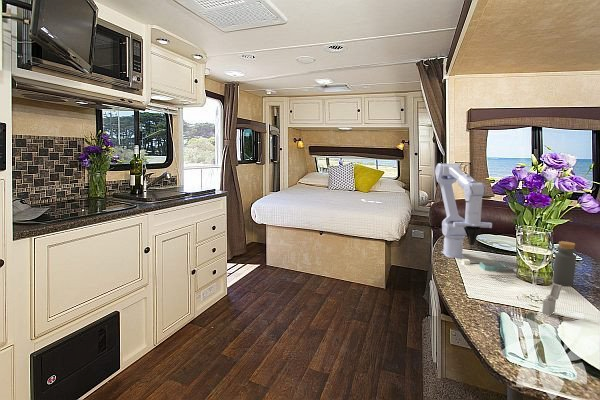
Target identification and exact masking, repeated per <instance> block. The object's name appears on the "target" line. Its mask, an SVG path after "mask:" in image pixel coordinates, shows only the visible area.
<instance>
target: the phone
mask: <svg viewBox="0 0 600 400" xmlns="http://www.w3.org/2000/svg"><path fill="white" fill-rule="evenodd" d="M495 262H496V261H488V262H487V261H486V262H485V261H480V262H479V263H480V265H479V266H480V267H481V268H482V269H483V270H487V271H497V268H506V266H505V265H503V264H502V263H495Z"/></svg>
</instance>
